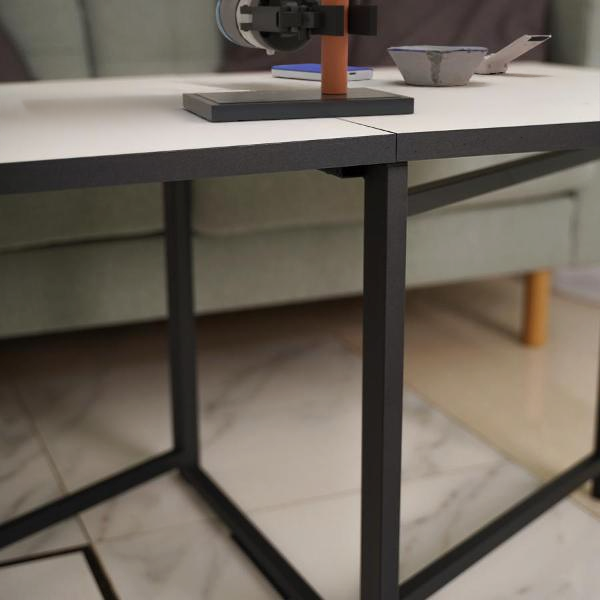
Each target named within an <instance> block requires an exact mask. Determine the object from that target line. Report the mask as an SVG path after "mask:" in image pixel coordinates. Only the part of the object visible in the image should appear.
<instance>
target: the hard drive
mask: <svg viewBox="0 0 600 600" xmlns="http://www.w3.org/2000/svg"><path fill="white" fill-rule="evenodd" d="M271 76H272V77H276V78H285V79H296V80H297V79H298V80H309V81H319V82H321V63H298V64H297V63H295V64H280V65H273V66H271ZM373 78H374V69H373V68H371V67H360V66H348V70H347V82H350V81H363V80H364V81H365V80H372V79H373Z"/></svg>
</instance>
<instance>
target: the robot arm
mask: <svg viewBox="0 0 600 600" xmlns="http://www.w3.org/2000/svg"><path fill="white" fill-rule="evenodd" d="M378 6H379V5H378V4H375V5H374V4H360V0H349V2H348V35H355V36H365V37H366V36H368V37H377V36H378ZM215 20H216V24H217V26H218V29H219V31H220V32H221V34H222V35H223V36H224V37H225V38H226V39H228V40H229V41H231V42H232V43H234V44H236V45H238V46H241V47H242V48H252V49H262V50H266V54H267V55H268V56H272V55H275V52H281V53H293V52H296V51H297V52H298V51H299V50H301V49H303V48H304V47H306V46H307V45H308V44H309V43H310V42H311V41H312V39H313V38H315V37H317V36H321V35H327V36H344V5H322V1H318V0H218V1H217V4H216V8H215Z"/></svg>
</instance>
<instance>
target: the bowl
mask: <svg viewBox="0 0 600 600" xmlns="http://www.w3.org/2000/svg"><path fill="white" fill-rule="evenodd" d="M489 50H490V48H488V47H486V46H478V45H475V46H473V45H472V46H467V45H465V46H464V45H455V46H453V45H450V46H449V45H426V44H425V45H424V44H423V45H404V46H390V47H388V48H386V51H387V52H388V54H389V56H390V57H391V59H392V60H393V62H394V64H395V65H396V67H397V69H398V72H399V73H400V75H401V76H402V78H403V80H404V82H405V83H406V84H407V85H413V86H423V87H425V86H427V87H454V86H455V87H456V86H465V85H467V84H468V83H469V81H471V78H472V77H473V76H474V74H475V73H474V72H475V71H476V69H477V68H478V66H479V65H480V63H481V61H482V60H483V58H484V56H485V55H486V54H487V53H488V52H489Z"/></svg>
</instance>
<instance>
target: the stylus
mask: <svg viewBox="0 0 600 600" xmlns="http://www.w3.org/2000/svg"><path fill="white" fill-rule="evenodd" d="M321 2H322V5H344V36H327V35H320V36H321V38H320V39H321V43H320V45H321V46H320V47H321V48H320V49H321V50H320V51H321V52H320V53H321V54H320V57H321V58H320V64H321V81H320V89H321V93H323V94H346V93H347V88H348V81H347V70H348V64H349V63H348V62H349V61H348V59H349V34H348V2H349V0H321Z"/></svg>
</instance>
